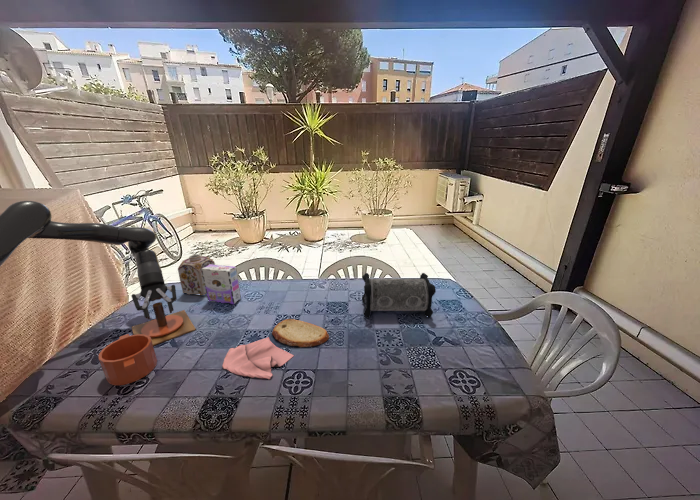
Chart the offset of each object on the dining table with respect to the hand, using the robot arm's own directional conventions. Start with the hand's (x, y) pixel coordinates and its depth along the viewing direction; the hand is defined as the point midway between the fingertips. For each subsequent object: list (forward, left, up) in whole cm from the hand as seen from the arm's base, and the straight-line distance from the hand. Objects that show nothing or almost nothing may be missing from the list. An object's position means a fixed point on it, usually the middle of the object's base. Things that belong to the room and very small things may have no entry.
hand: (159, 315), depth 100 cm
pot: (-11, -16, -7) cm, 21 cm away
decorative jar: (+20, +27, -7) cm, 34 cm away
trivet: (0, +2, -7) cm, 7 cm away
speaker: (+77, -49, -7) cm, 92 cm away
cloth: (+20, -38, -7) cm, 44 cm away
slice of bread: (+37, -36, -7) cm, 52 cm away
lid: (0, +2, -6) cm, 6 cm away
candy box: (+25, +9, -7) cm, 28 cm away
